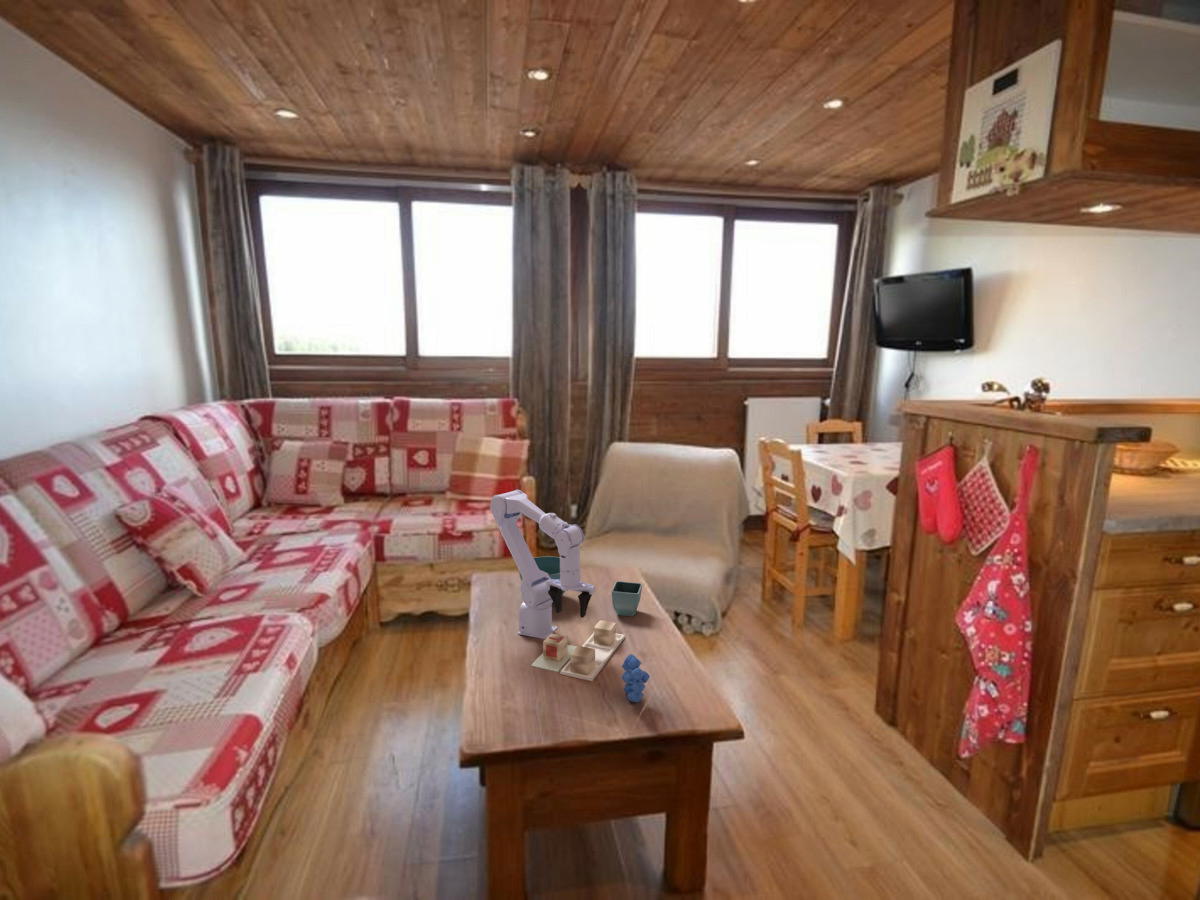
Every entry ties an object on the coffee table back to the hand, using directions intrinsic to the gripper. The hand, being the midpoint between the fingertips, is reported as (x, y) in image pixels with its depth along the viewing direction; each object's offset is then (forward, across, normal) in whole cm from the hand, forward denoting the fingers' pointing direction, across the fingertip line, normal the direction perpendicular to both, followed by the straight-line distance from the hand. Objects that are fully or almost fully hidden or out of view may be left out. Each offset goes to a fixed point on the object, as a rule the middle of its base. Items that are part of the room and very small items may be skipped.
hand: (571, 614), depth 171 cm
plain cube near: (+9, +9, -11) cm, 17 cm away
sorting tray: (+10, +8, -3) cm, 13 cm away
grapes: (+10, +26, -19) cm, 34 cm away
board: (+9, -1, -8) cm, 13 cm away
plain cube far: (+9, +8, +5) cm, 13 cm away
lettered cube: (+9, -1, -8) cm, 12 cm away
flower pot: (+10, +7, +26) cm, 28 cm away
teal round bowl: (+9, -22, +25) cm, 34 cm away
